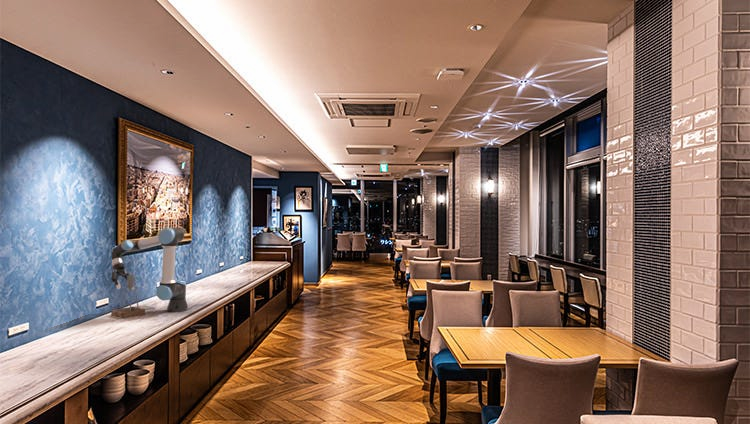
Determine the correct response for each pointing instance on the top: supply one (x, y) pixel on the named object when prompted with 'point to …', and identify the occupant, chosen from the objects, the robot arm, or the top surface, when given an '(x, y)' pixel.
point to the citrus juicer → (130, 285)
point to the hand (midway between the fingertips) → (126, 289)
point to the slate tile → (146, 307)
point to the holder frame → (127, 312)
